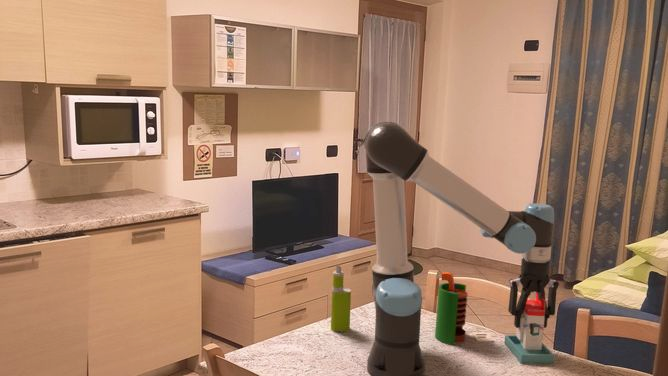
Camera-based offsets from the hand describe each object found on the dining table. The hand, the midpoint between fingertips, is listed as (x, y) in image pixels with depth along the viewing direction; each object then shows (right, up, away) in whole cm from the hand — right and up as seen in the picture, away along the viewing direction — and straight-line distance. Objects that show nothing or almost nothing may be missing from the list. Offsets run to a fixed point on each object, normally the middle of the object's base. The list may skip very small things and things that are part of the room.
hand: (529, 337), depth 165 cm
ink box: (0, -2, 0) cm, 2 cm away
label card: (-11, -3, +10) cm, 15 cm away
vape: (-54, -1, +14) cm, 56 cm away
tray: (0, -5, +1) cm, 5 cm away
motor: (-21, -3, +10) cm, 23 cm away
